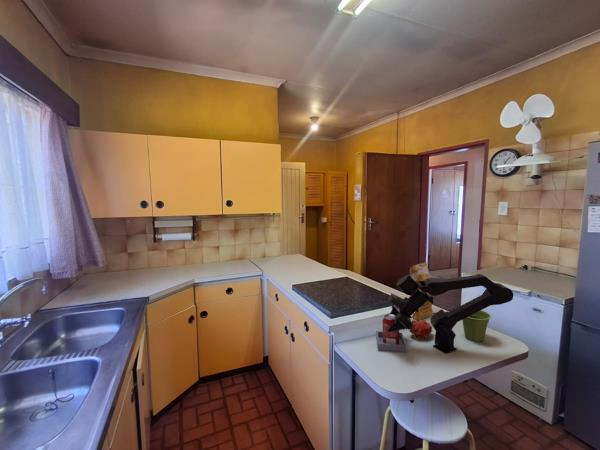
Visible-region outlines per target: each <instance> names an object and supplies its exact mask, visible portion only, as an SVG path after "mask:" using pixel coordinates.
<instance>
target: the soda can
mask: <svg viewBox="0 0 600 450" xmlns="http://www.w3.org/2000/svg"><path fill="white" fill-rule="evenodd" d="M395 316H396V315H392V314H390V313H388V314H384V315H383V319H382V332H383V343H384V344H399V333H400V330H397V331H392V332H389V331H388V329H389V327H390V326H391V325H392V324H393V323H394V322H395Z"/></svg>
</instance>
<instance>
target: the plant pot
mask: <svg viewBox="0 0 600 450" xmlns="http://www.w3.org/2000/svg"><path fill="white" fill-rule="evenodd" d="M490 319H492V315H491V314H490V313H488V312H487V311H485V310H481V311H479V312H477V313H475V314H473V315H471V316H469V317H467V318H465V319H463V320H461V321H462V326H463V332H464V333H463V334H464V337H465V338H466V339H467V340H470V341H475V342H483V341H484V340H485V337H486V336H485V335H486V333H487V328H488V325H489V321H490Z"/></svg>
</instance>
